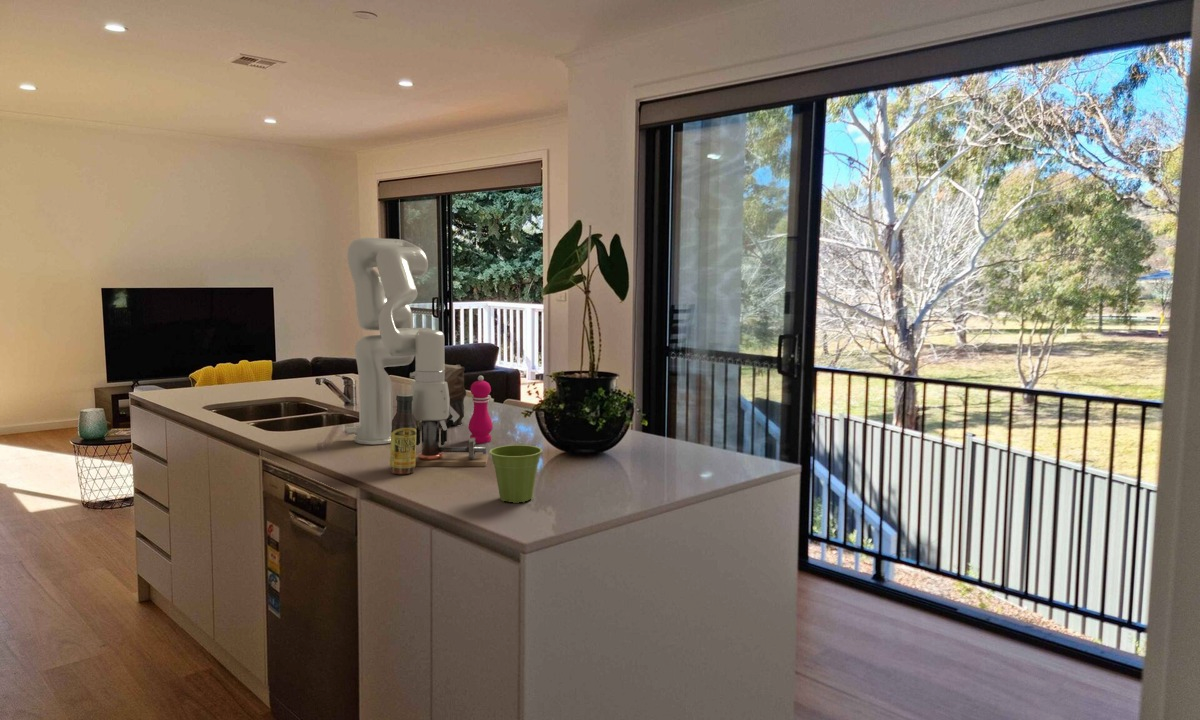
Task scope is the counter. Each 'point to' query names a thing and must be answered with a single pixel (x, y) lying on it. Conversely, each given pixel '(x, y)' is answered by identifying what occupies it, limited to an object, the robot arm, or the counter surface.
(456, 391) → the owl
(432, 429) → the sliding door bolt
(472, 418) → the pepper mill
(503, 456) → the plant pot
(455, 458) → the board
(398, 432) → the sauce bottle
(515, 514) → the counter surface
